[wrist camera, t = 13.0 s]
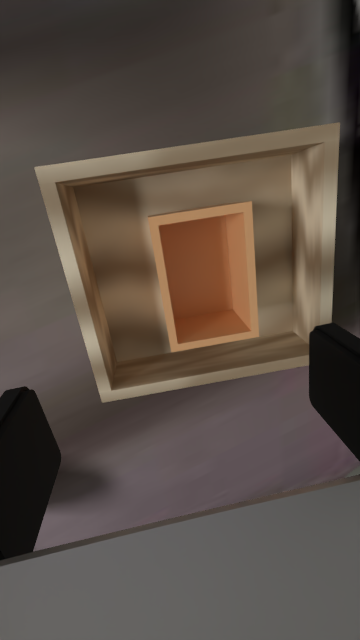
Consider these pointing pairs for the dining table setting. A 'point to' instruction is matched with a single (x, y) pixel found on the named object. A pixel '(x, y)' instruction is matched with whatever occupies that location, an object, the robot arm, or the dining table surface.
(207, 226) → the box
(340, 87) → the dining table surface
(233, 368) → the big crate
